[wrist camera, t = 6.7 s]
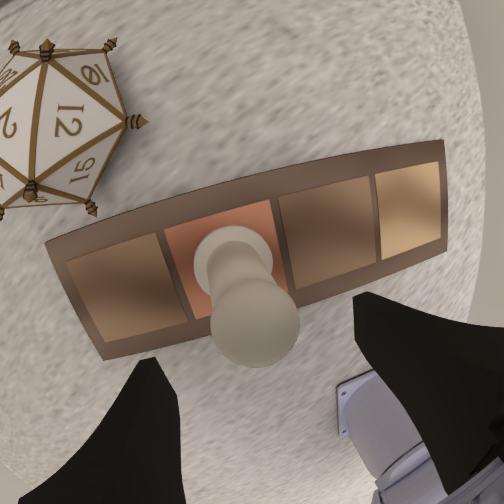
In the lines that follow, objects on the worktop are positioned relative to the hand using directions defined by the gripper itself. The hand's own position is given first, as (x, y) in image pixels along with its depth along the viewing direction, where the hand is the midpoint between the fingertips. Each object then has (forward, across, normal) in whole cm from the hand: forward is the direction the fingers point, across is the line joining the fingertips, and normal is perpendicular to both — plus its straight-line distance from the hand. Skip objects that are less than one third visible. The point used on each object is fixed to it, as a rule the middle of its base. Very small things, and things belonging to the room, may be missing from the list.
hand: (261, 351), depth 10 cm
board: (+8, -3, 0) cm, 9 cm away
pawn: (+8, 0, 0) cm, 8 cm away
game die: (+9, +6, -10) cm, 15 cm away
